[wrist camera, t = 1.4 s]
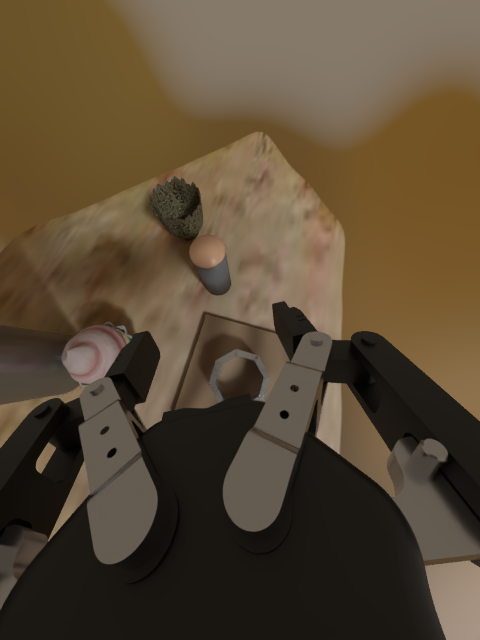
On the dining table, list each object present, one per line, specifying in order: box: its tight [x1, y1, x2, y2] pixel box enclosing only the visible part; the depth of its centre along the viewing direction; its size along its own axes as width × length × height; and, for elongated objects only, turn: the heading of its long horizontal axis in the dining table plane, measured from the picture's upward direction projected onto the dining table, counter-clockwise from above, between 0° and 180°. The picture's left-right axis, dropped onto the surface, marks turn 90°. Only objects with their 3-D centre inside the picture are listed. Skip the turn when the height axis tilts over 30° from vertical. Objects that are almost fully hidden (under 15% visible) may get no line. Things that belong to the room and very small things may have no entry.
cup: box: [149, 176, 203, 241], centre depth 32 cm, size 8×7×8 cm
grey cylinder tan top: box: [189, 235, 231, 295], centre depth 28 cm, size 4×4×10 cm
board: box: [175, 314, 290, 410], centre depth 29 cm, size 16×16×1 cm
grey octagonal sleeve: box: [209, 349, 270, 403], centre depth 27 cm, size 8×8×4 cm
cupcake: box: [62, 321, 132, 386], centre depth 26 cm, size 9×9×10 cm
